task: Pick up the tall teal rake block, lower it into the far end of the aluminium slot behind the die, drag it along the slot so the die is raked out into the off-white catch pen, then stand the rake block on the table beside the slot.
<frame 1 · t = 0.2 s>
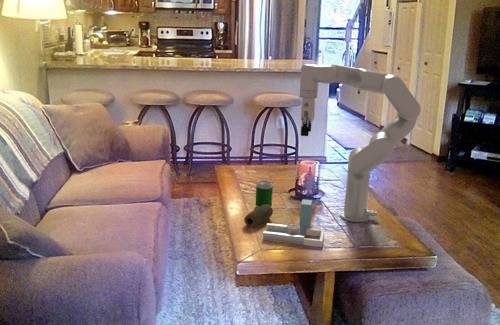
hand: (305, 133, 218), 36 cm above the table, tool pointing down, fingers open, 9 cm apart
rake block: (304, 229, 209), on the table
catch pen: (312, 240, 199), on the table
slot rails: (284, 237, 201), on the table
brown hollow cylinder: (258, 223, 215), on the table
die: (292, 238, 201), on the table
soda can: (263, 208, 232), on the table
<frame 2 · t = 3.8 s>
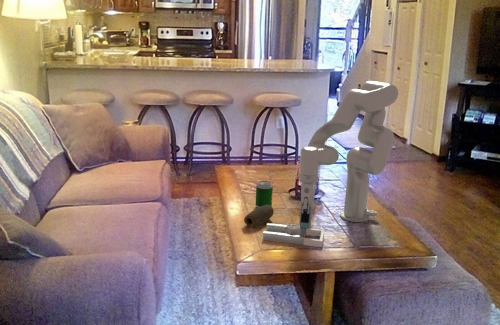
hand: (305, 219, 208), 5 cm above the table, tool pointing down, fingers closed on rake block, 6 cm apart
rake block: (304, 229, 209), on the table, touching gripper
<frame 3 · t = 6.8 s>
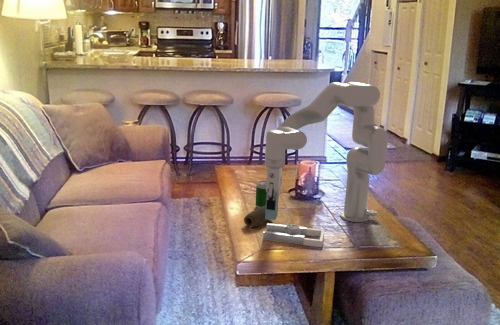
hand: (272, 206, 199), 12 cm above the table, tool pointing down, fingers closed on rake block, 6 cm apart
rake block: (271, 217, 200), point 8 cm above the table, touching gripper
everything else where it was.
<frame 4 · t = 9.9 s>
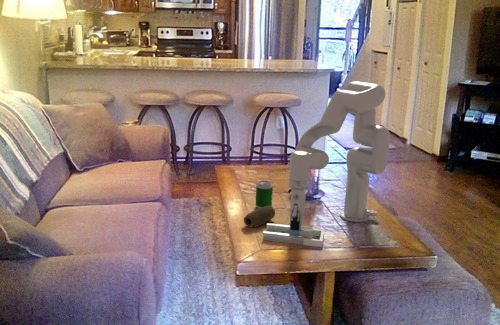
hand: (295, 226, 199), 5 cm above the table, tool pointing down, fingers closed on rake block, 6 cm apart
rake block: (294, 237, 200), on the table, touching die, gripper
die: (305, 240, 199), on the table, touching rake block
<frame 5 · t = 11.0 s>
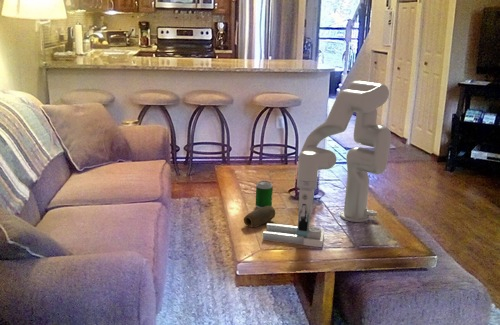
hand: (303, 226, 198), 5 cm above the table, tool pointing down, fingers closed on rake block, 6 cm apart
rake block: (302, 237, 199), point 1 cm above the table, touching die, gripper
die: (313, 241, 198), on the table, touching rake block
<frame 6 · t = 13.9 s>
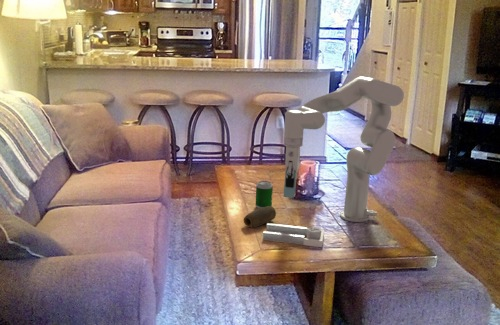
hand: (290, 184, 205), 19 cm above the table, tool pointing down, fingers closed on rake block, 6 cm apart
rake block: (289, 195, 206), point 14 cm above the table, touching gripper
die: (313, 242, 198), on the table
when the fingers open (5 cm above the table, at t = 16.7 s): rake block stays where it is, on the table.
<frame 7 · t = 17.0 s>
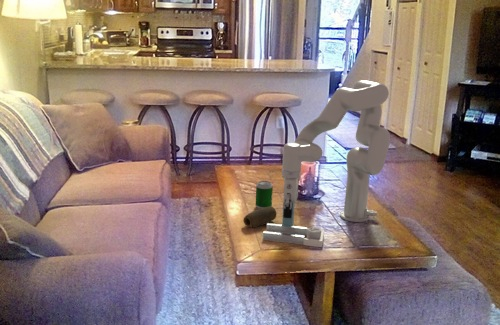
hand: (288, 213, 209), 6 cm above the table, tool pointing down, fingers open, 8 cm apart
rake block: (287, 227, 211), on the table
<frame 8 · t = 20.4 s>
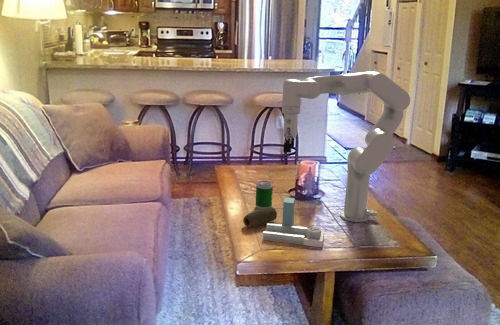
hand: (288, 149, 214), 30 cm above the table, tool pointing down, fingers open, 9 cm apart
at the end: die inside the target area (1.4 cm from its centre), on the table; the gripper is holding nothing; rake block tilted 0° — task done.
